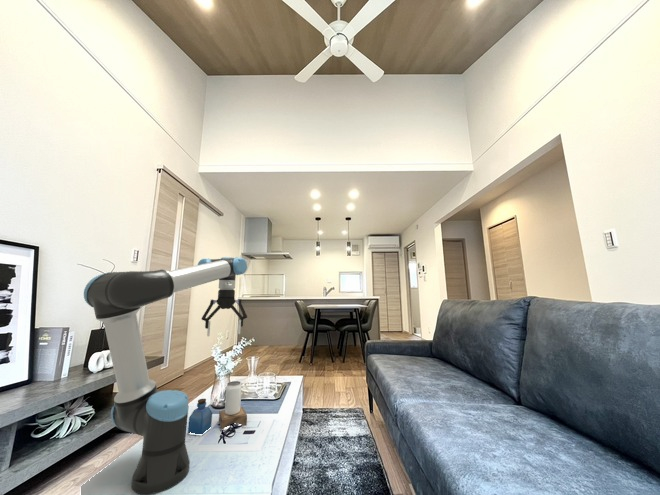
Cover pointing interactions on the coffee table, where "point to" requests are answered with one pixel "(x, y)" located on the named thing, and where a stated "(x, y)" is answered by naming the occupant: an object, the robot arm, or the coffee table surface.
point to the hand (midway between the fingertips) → (224, 334)
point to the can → (233, 398)
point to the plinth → (232, 418)
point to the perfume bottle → (200, 418)
